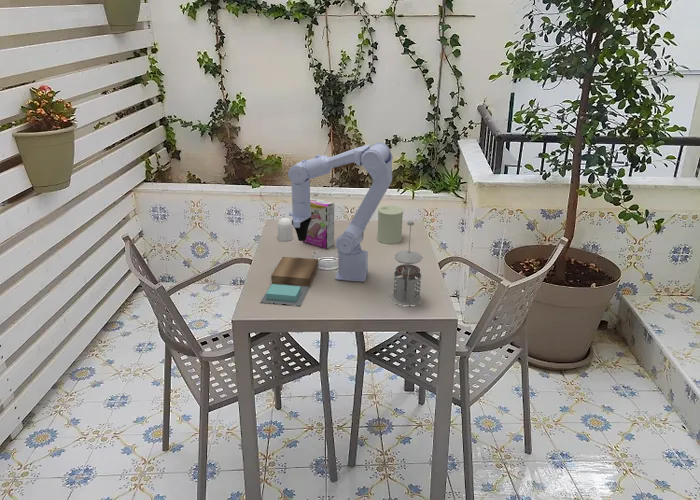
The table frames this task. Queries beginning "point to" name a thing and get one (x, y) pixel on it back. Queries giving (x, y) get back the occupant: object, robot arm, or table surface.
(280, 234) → the white domed cylinder
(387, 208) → the can
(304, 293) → the mat
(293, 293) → the teal rectangular block
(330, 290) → the table surface
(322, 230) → the candy bar box
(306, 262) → the deck
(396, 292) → the french press
